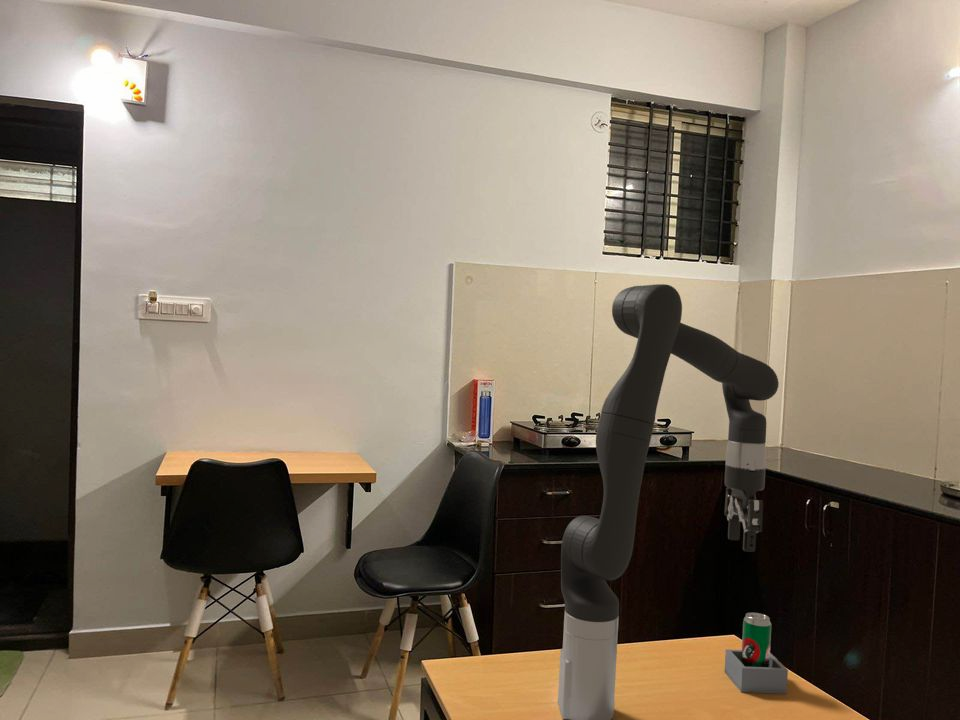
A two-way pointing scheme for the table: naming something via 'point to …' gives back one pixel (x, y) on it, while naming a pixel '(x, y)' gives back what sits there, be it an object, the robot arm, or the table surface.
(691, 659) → the table surface
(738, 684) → the grey hollow square box
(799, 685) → the table surface
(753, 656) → the soda can
